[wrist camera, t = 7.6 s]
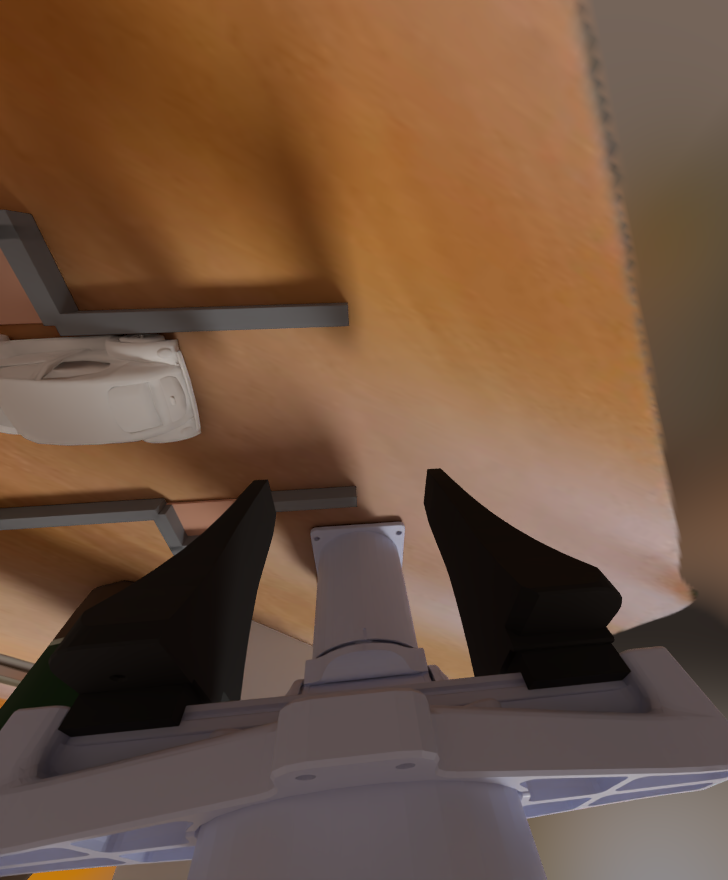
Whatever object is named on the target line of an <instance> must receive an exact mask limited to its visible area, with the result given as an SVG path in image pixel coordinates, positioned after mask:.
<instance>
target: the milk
mask: <svg viewBox="0 0 728 880" xmlns="http://www.w3.org/2000/svg"><path fill="white" fill-rule="evenodd" d="M312 654H313V646H311V645H309V644H307V643H304V642H302V641H300V640H297V639H295V638H293V637H290V636H288V635H286V634H283V633H281V632H278V631H276V630H274V629H271V628H269V627H267V626H264V625H262V624H260V623H257V622H255V621H253V620H252V622H251V628H250V634H249V640H248V647H247V654H246V661H245V668H244V676H243V684H242V692H241V700H249V699H259V698H269V697H279V696H285V695H286V694H287V692H288V691H289V690H290V688H291V686H292V684H293V683H294V681H296V680H298V679H304V674H305V663H306V660H311V659H312ZM191 862H192V860H185V861H172V862H159V863H146V864H133V865H120V866H117V867H116V870H115V873H114V876H113V879H112V880H187V878H188V874H189V870H190V866H191Z"/></svg>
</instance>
